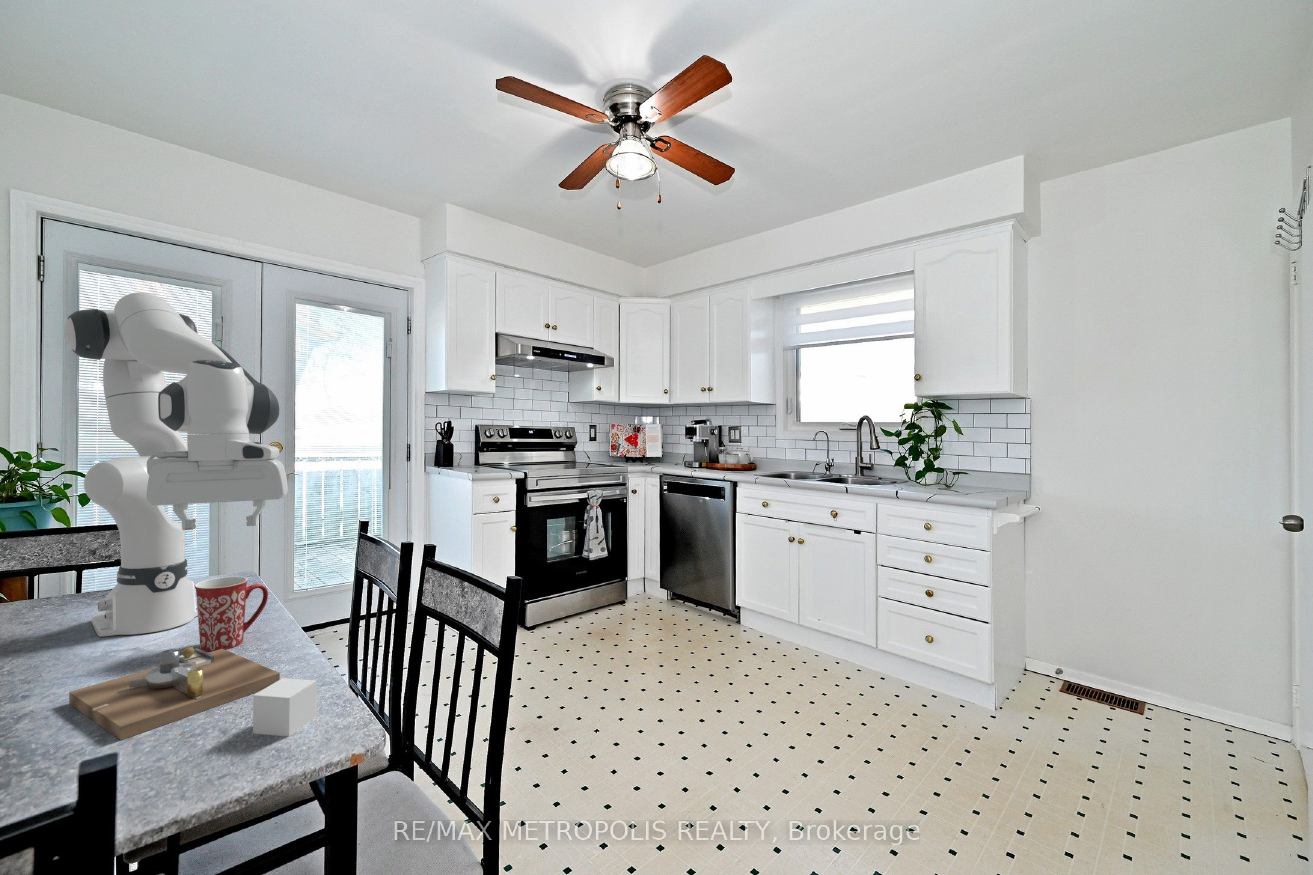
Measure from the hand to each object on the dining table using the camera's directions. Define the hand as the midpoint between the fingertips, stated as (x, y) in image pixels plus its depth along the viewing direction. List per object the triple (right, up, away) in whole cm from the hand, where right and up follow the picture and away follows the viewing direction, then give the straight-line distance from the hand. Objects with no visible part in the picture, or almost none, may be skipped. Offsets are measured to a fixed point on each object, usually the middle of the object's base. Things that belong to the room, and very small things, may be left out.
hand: (221, 527), depth 102 cm
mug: (-13, -28, +19) cm, 36 cm away
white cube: (+20, -29, -13) cm, 38 cm away
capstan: (-3, -26, -6) cm, 27 cm away
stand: (-5, -28, -3) cm, 29 cm away
